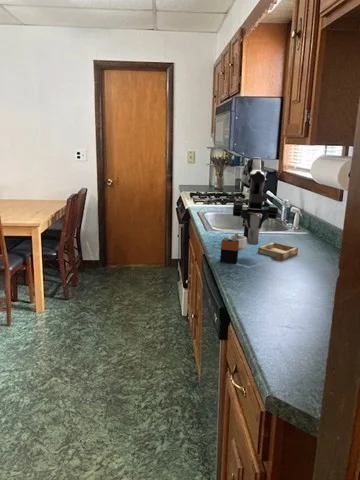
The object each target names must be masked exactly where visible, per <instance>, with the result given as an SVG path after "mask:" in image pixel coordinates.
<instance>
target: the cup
mask: <svg viewBox="0 0 360 480" xmlns="http://www.w3.org/2000/svg"><path fill="white" fill-rule="evenodd" d="M234 236H235V234H231V235H229V236H227V238H228V239H231V240H232V238H234ZM237 240H239V248H238V250H242V249H245V248H247V242H248V238H246V237H245V236H244V235H241V238H240V239H237Z"/></svg>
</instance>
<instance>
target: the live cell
mask: <svg viewBox="0 0 360 480" xmlns="http://www.w3.org/2000/svg"><path fill="white" fill-rule="evenodd" d="M261 217H262V214H257V213H253V214H250V220H249V231H248V238H247V245H252V246H257V245H259V236H260V229H259V227H260V218H261Z"/></svg>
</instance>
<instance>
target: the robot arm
mask: <svg viewBox="0 0 360 480" xmlns="http://www.w3.org/2000/svg"><path fill="white" fill-rule="evenodd" d="M264 168H265V160H263V158H262V157H257V156H255V157H254V156H253V157H251V158H250V159H248V160H247V161H246V171H247V184H248V186H249V190H248V191H249V192H248V206H244V205H243V204H240V203H235V204H233V207H232V208H233V209H232V216H233V217H240V218H241V219H242V222H241V223H242V225H241V226H242V227H243V228H244V229H243V236H245V237H246V238H247V239H248V231H249V220H250V214H253V213H257V214H260V215H261V217H260V227H259V230H261V229H262V226H263V224H264V223H265V222H266V220H267V221H268V220H269V219H272V220H273V219H277V218H278V213H279V207H278V206H274V205H272V206H271V205H270V206H268V208H267V209H265V208H263V205H264V203H267V201H268V193H264V192H263V190H264V188H265V185H266V183H268V179H267V178H266V176H265V172H264Z"/></svg>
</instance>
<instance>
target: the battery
mask: <svg viewBox="0 0 360 480" xmlns="http://www.w3.org/2000/svg"><path fill="white" fill-rule="evenodd" d="M238 248H239V240H237V239H236V238H232V240H231V239H228V237H224V238H223V239H222V240H221V244H220V259H219V261H220V263H222V262H225V263H224V264H231V263H232V264H234V265H236V264H238V258H239V257H238V256H239V249H238Z"/></svg>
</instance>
